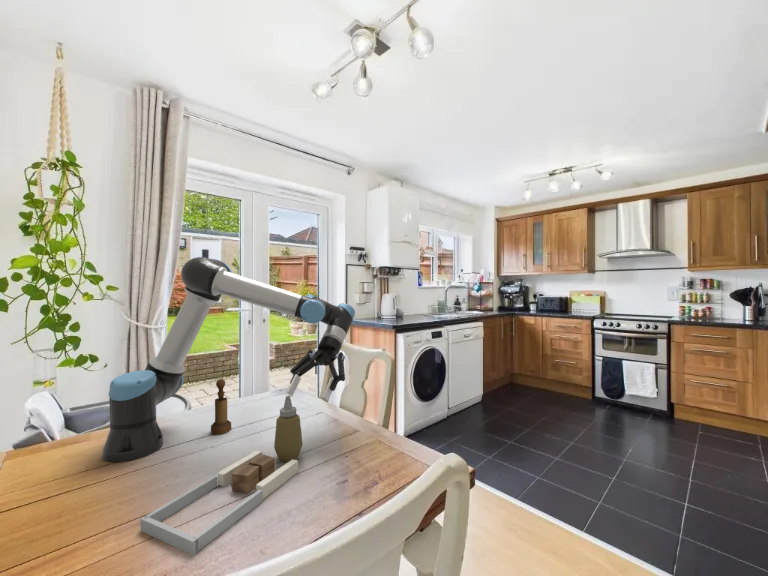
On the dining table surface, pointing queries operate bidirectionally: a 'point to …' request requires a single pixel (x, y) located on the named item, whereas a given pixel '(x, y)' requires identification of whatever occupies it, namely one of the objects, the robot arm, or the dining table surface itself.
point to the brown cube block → (245, 479)
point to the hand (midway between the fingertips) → (306, 396)
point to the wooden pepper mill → (220, 411)
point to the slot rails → (269, 482)
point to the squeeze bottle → (288, 433)
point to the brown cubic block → (264, 465)
